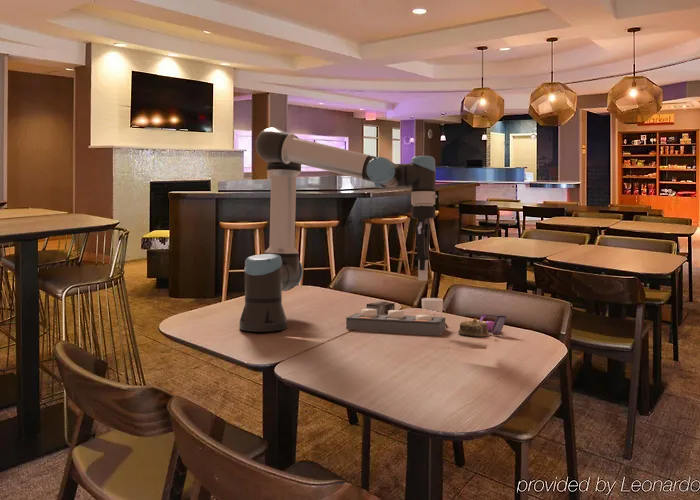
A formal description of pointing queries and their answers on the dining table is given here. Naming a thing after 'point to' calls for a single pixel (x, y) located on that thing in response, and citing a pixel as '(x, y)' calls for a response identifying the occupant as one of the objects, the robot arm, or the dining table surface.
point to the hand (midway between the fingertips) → (422, 280)
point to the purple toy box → (494, 323)
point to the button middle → (396, 314)
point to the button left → (369, 313)
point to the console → (396, 324)
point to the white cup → (432, 304)
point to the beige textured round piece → (473, 328)
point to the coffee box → (381, 307)
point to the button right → (424, 317)
